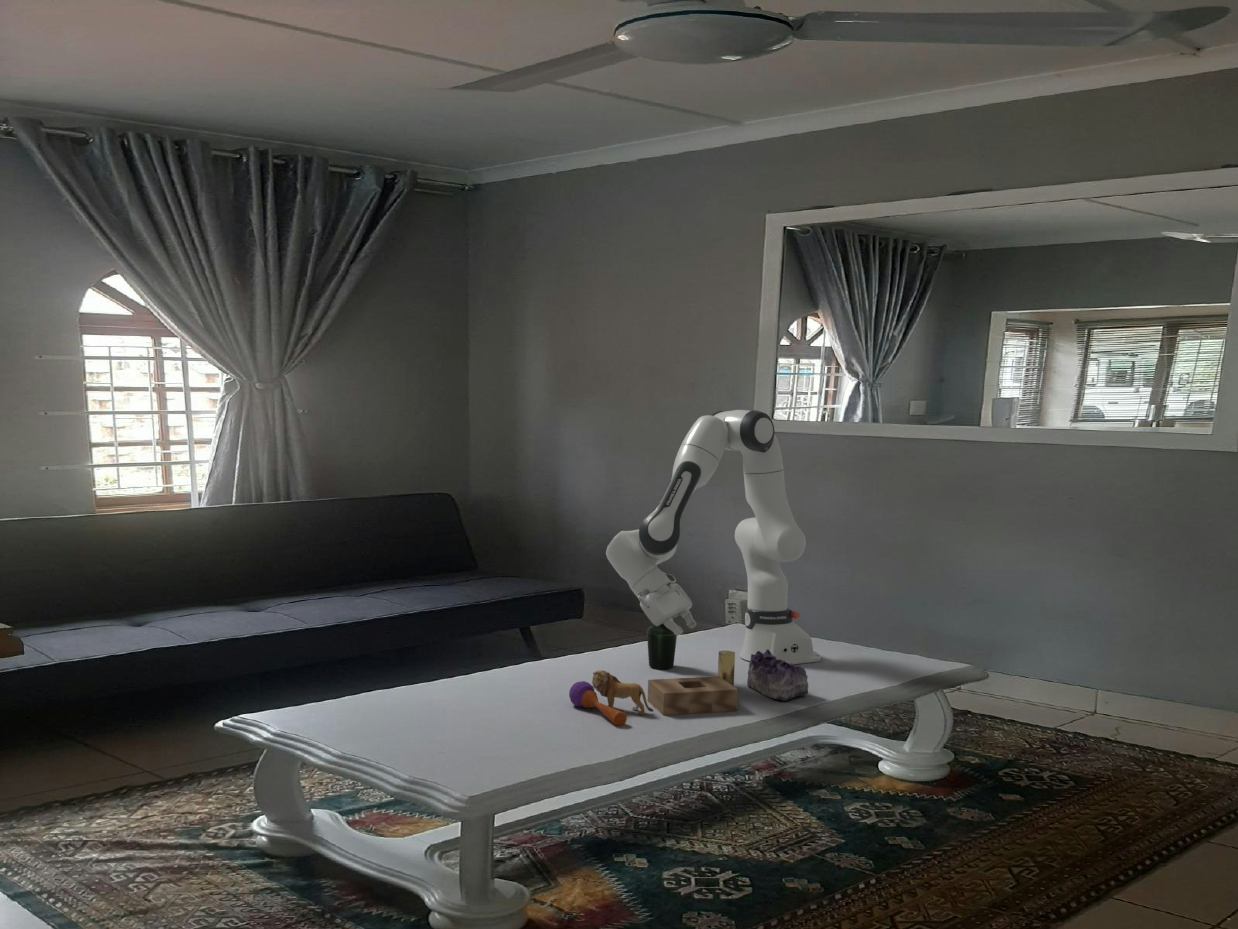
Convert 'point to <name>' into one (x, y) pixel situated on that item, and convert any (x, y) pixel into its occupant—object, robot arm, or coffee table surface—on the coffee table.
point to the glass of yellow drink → (726, 666)
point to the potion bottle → (661, 647)
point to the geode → (776, 677)
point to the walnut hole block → (692, 695)
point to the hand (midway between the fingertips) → (687, 630)
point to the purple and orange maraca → (594, 702)
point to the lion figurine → (618, 690)
